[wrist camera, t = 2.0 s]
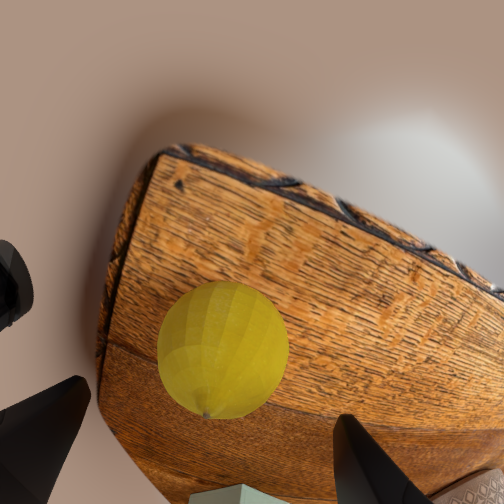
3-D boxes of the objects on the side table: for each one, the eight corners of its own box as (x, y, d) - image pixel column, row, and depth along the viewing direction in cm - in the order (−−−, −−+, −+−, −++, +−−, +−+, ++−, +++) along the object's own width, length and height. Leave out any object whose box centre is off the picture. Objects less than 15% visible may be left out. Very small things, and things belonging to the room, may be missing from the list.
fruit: (173, 266, 15) (96, 355, 8) (275, 247, 14) (273, 341, 7) (203, 350, 17) (163, 456, 9) (294, 338, 16) (300, 455, 8)
